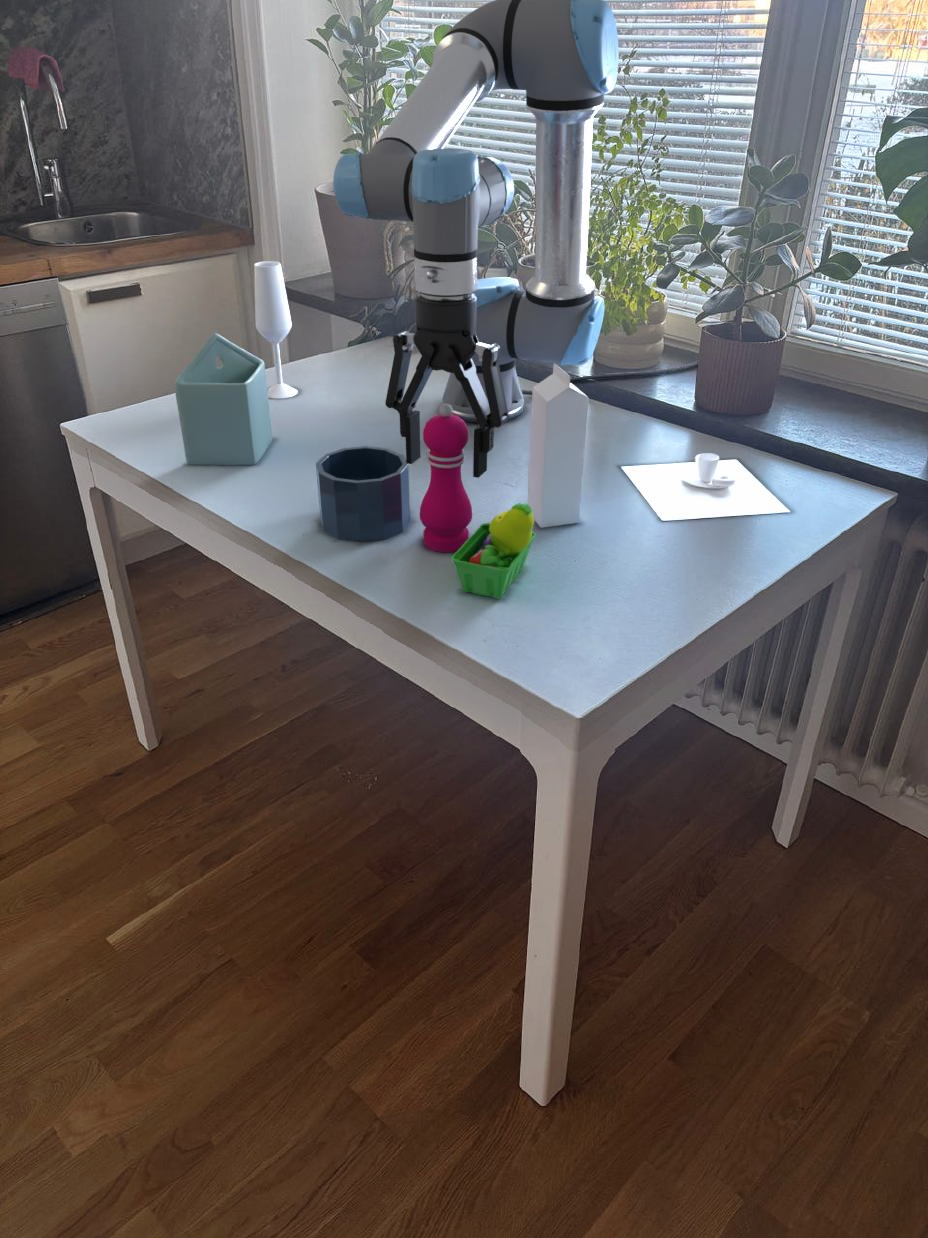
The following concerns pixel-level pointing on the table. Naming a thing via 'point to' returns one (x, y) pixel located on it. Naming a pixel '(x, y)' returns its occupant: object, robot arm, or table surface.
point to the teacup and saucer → (702, 489)
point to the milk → (556, 450)
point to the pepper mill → (445, 483)
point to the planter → (224, 406)
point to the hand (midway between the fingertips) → (446, 466)
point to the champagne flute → (272, 317)
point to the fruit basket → (496, 552)
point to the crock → (363, 493)
